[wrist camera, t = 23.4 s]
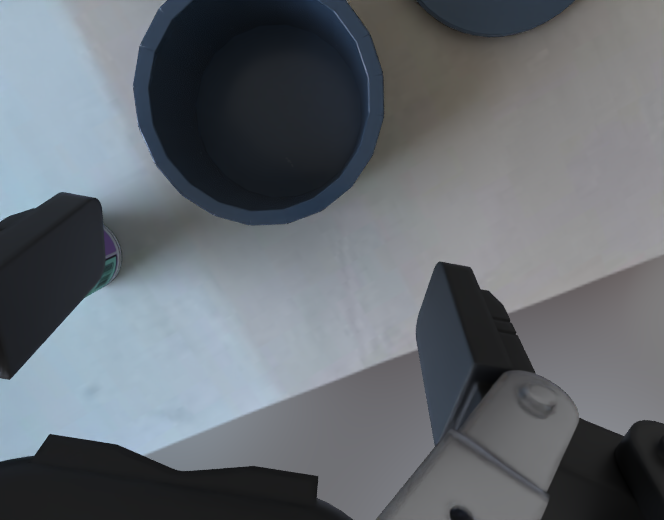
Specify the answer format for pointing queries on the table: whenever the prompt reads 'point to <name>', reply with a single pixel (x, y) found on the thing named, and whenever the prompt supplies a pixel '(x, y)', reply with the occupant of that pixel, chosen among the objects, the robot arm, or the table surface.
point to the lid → (494, 14)
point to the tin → (259, 104)
